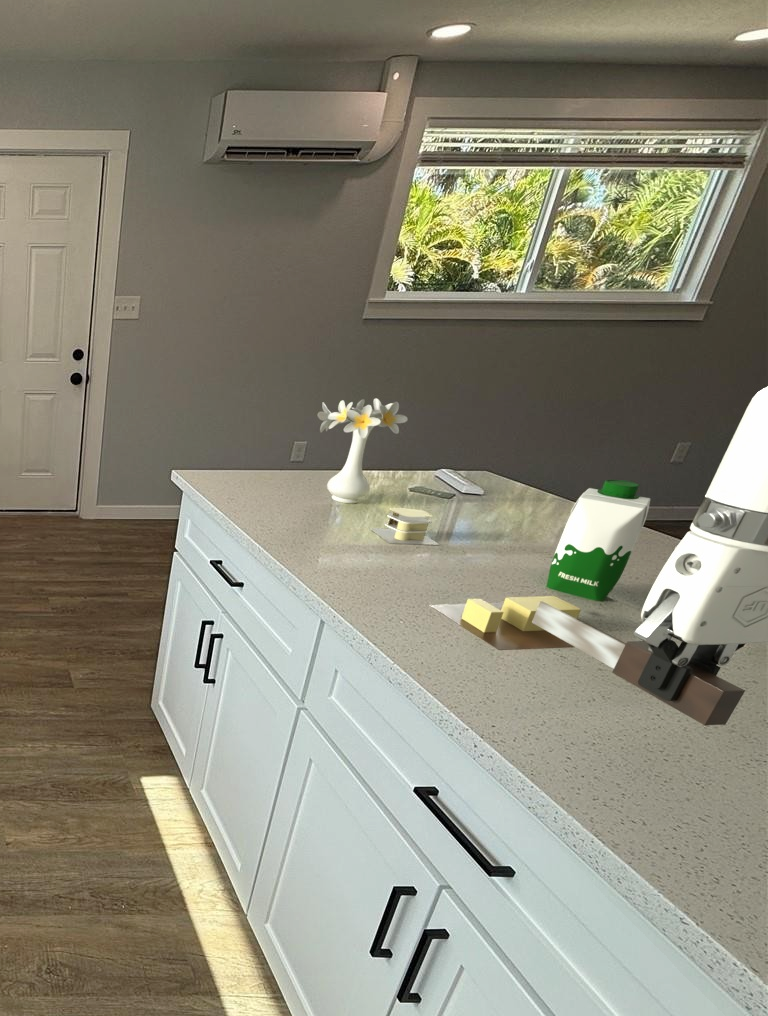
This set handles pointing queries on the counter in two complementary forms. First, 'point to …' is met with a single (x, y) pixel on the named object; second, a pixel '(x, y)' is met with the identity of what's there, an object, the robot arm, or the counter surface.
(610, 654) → the knife
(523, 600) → the butter stick
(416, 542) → the stacked layers on plate
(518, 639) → the cutting board
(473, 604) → the butter pat
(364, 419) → the flower vase
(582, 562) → the milk carton
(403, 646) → the counter surface
